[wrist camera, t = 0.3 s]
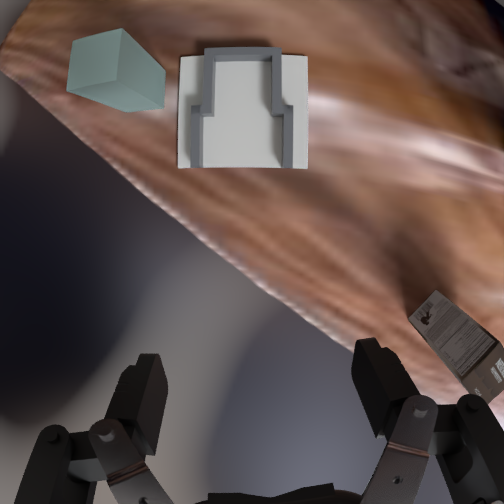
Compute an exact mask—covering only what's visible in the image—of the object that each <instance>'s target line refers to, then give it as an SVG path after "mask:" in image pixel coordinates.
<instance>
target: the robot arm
mask: <svg viewBox="0 0 504 504" xmlns="http://www.w3.org/2000/svg"><path fill="white" fill-rule="evenodd" d="M351 375H352V380H353V383H354V385H355V387H356V390H357V392H358V395H359V397H360V400H361V402H362V405H363V407H364V410H365V412H366V415H367V417H368V420H369V422H370V424H371V427H372V430H373V432H374V435H375V438H376V439H378V438H383V437H385V438H386V440H387V444H386V446H385V448H384V451H383V453H382V455H381V458H380V460H379V462H378V464H377V466H376V468H375V470H374V472H373V475H372V477H371V479H370V481H369V483H368V484H367V486H366V488H365V490H364V492H363V494H362V496H361V495H359V494H356V493H353V492H349V491H345V490H334V486H333V483H329V484H323V485H316V486H310V487H303V488H300V489H297V490H295V491H291V492H288V493H285V494H282V495H279V496H276V497H271V498H270V497H262V496H255V495H248V494H243V493H208V500H206V501H201V502H198V503H195V504H413V503H414V500H415V497H416V495H417V492H418V489H419V487H420V484H421V481H422V478H423V475H424V472H425V469H426V466H427V463H428V459H429V455H435V456H436V459H437V461H438V463H439V466H440V468H441V471H442V474H443V476H444V479H445V481H446V484H447V487H448V489H449V492H450V495H451V498H452V500H453V503H454V504H504V431H503V429H502V427H501V426H500V424H499V422H498V421H497V419H496V417H495V416H494V414H493V412H492V411H491V409H490V408H489V406H488V404H487V403H486V401H485V400H484V399H483V398H482V397H480V396H478V395H475V394H466V395H463V396H462V397H461V398H460V399H459V400H458V402H457V404H449V405H438V404H436V402H435V401H434V400H433V399H431V398H430V397H428V396H424V395H421V394H420V393H419V391H418V389H417V388H416V386H415V384H414V383H413V381H412V379H411V378H410V376H409V374H408V373H407V371H405V368H404V366H403V364H401V361H400V360H399V358H398V356H397V355H396V353H394V352H393V351H391V350H390V349H389V348H387V347H385V348H381V346H380V345H379V343H378V341H377V340H376V338H374V337H372V338H366V339H359V340H357V341H356V343H355V349H354V355H353V362H352V367H351ZM167 395H168V382H167V378H166V375H165V371H164V368H163V365H162V361H161V358H160V355H159V354H140V355H139V358H138V360H137V363H136V365H130V366H128V367H127V368H126V369H125V370H124V372H122V374H121V376H120V378H119V381H118V384H117V386H116V389H115V392H114V394H113V397H112V399H111V401H110V404H109V407H108V409H107V412H106V415H105V417H104V419H102V420H99V421H97V422H96V423H94V424H93V425H92V426H91V428H90V430H89V431H84V432H76V433H69V432H68V431H67V430H66V428H65V427H63V426H61V425H50V426H47V427H46V428H44V429H43V430H42V431H41V432H40V434H39V436H38V439H37V441H36V443H35V446H34V449H33V451H32V453H31V456H30V459H29V461H28V464H27V467H26V469H25V472H24V475H23V478H22V481H21V483H20V486H19V490H18V493H17V496H16V499H15V502H14V504H93V499H94V495H95V490H96V485H97V481H102V480H106V481H107V483H108V485H109V488H110V490H111V491H112V493H113V495H114V497H115V499H116V500H117V502H118V504H174V503H173V502H172V500H171V499H170V498H169V496H168V495H167V493H166V492H165V491H164V489H163V488H162V487H161V485H160V484H159V482H158V481H157V479H156V478H155V477H154V475H153V474H152V473H151V471H150V469H149V468H148V466H147V465H146V463H145V457H146V455H154V456H155V454H156V448H157V443H158V438H159V433H160V428H161V424H162V418H163V414H164V409H165V404H166V400H167Z"/></svg>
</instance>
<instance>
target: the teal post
mask: <svg viewBox="0 0 504 504" xmlns="http://www.w3.org/2000/svg"><path fill="white" fill-rule="evenodd" d="M165 76H166V71H165V70H164V69H163V68H162V67H161V66H160V65H159V64H158V63H157V62H156V61H155V60H154V59H153V58H152V57H151V56H150V55H149V54H148V53H147V52H146V51H145V50H144V49H143V48H142V47H141V46H140V45H139V44H138V43H137V42H136V41H135V40H134V39H133V38H132V37H131V36H130V35H129V34H128V33H127V32H126V31H125V30H124V29H123V28H120V29H116V30H111V31H107V32H103V33H99V34H95V35H92V36H88V37H84V38H81V39H77V40H74V41H73V43H72V50H71V56H70V64H69V71H68V80H67V90H66V91H68V92H71V93H74V94H77V95H80V96H83V97H85V98H88V99H91V100H94V101H97V102H99V103H102V104H105V105H108V106H110V107H113V108H116V109H118V110H121V111H124V112H126V113H127V112H135V111H144V110H153V109H164V96H165Z"/></svg>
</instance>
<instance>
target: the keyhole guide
mask: <svg viewBox="0 0 504 504" xmlns="http://www.w3.org/2000/svg"><path fill="white" fill-rule="evenodd" d="M204 167H268V168H301V169H308V65H307V56H295V55H282V50H281V48H277V47H221V48H205V51H204V55H202V56H189V57H181V66H180V86H179V115H178V168H204Z"/></svg>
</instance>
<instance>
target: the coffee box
mask: <svg viewBox="0 0 504 504" xmlns="http://www.w3.org/2000/svg"><path fill="white" fill-rule="evenodd" d="M408 321H409V322H410V323H411V324H412V325H413V327H414V328H415V329H416V330H417V331H418V333H419V334H420V335H421V336H422V337H423V338H424V340H425V341H426V342H427V343H428V344H429V346H430V347H431V348H432V349H433V350H434V352H435V353H436V354H437V355H438V356H439V358H440V359H441V360H442V361H443V362H444V364H445V365H446V366H447V367H448V368H449V370H450V371H451V372H452V373H453V374H454V376H455V377H456V378H457V379H458V380H459V382H460V383H461V384H462V385H463V387H464V388H465V389H466V390H467V391H468V392H469V394H475V395H478V396H480V397H482V398H483V399H484V400H485V401H486V403H487V404H489V403H490V402H491V401H492V400H493V399H494V398H495V397H496V396H498V395H499V394H500V393H501V392H502V391H503V390H504V348H503V346H502V344H501V342H500V341H499V340H497V339H496V338H495V337H494V336H493V335H491V334H490V333H489V332H488V331H487V330H486V329H484V328H483V327H482V326H481V325H480V324H478V323H477V322H476V321H475V320H474V319H472V318H471V317H470V316H469V315H467V314H466V313H465V312H464V311H463V310H461V309H460V308H459V307H458V306H456V305H455V304H454V303H453V302H452V301H450V300H449V299H448V298H446V297H445V296H444V295H443V294H441V293H440V292H439V291H437V290H435V291H434V292H433V293H432V294H431V295H430V296H429V297H428V299H427V300H426V301H425V302H424V303H423V304H422V305H421V306H420V307H419V308H418V309H417V310H416V311H415V312H414V313H413V314H412V315H411V316H410V317H409V318H408Z"/></svg>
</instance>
